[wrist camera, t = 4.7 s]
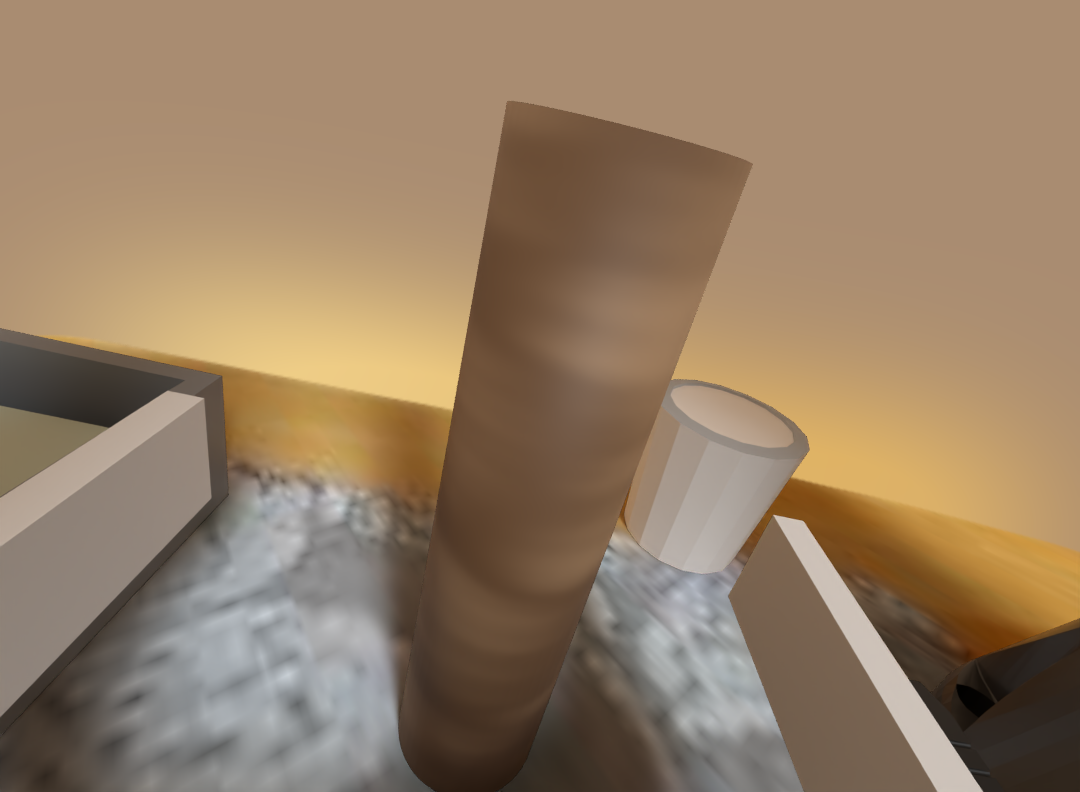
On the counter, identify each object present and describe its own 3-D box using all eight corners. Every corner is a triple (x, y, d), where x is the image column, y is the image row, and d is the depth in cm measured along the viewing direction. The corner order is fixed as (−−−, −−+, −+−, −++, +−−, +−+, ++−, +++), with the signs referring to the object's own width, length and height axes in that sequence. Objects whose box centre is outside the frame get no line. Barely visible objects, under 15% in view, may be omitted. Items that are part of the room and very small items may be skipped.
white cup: (585, 502, 26) (625, 381, 23) (673, 478, 30) (717, 372, 27) (684, 605, 21) (751, 469, 18) (772, 560, 25) (840, 443, 22)
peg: (535, 671, 17) (712, 161, 10) (529, 809, 14) (796, 169, 7) (418, 649, 17) (516, 110, 10) (380, 785, 13) (493, 90, 6)
